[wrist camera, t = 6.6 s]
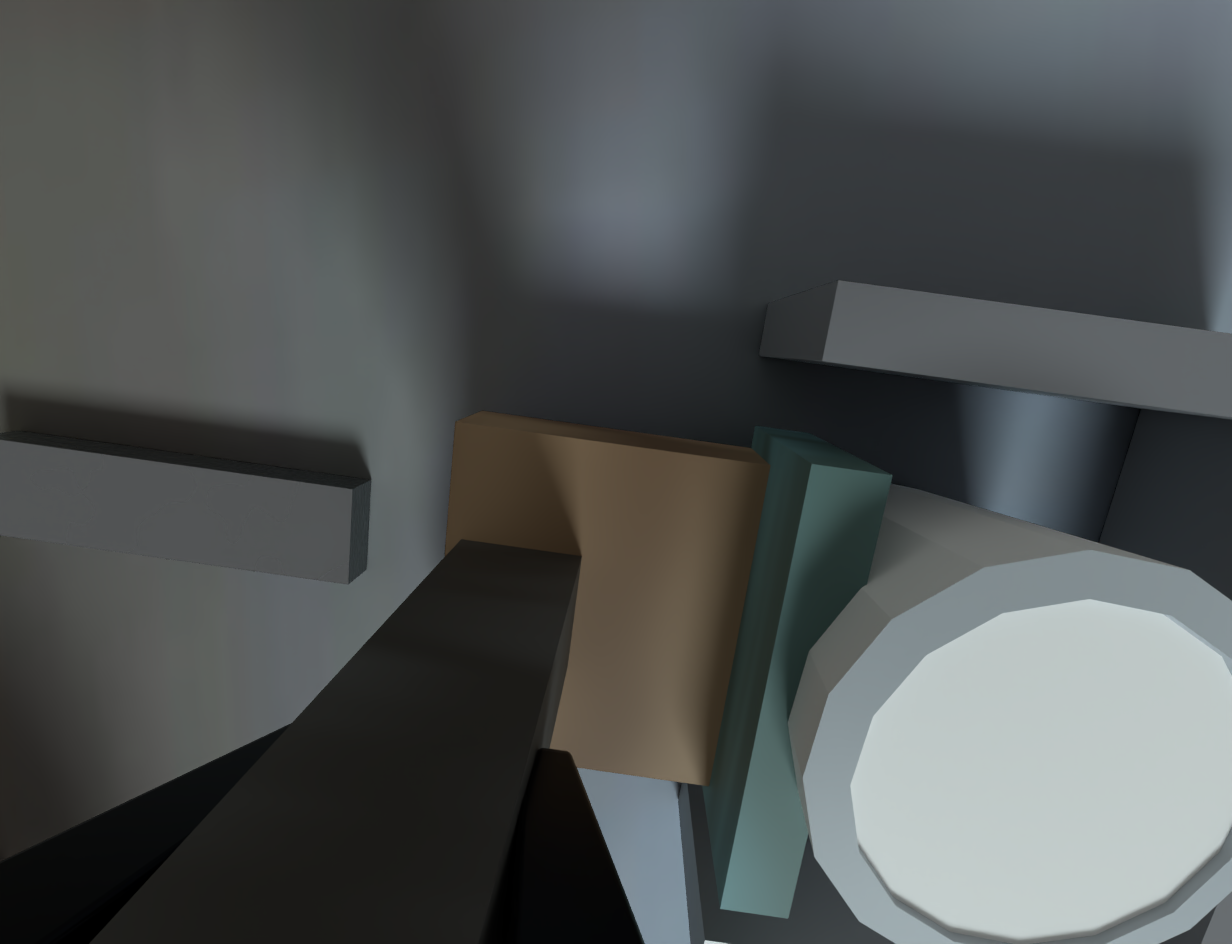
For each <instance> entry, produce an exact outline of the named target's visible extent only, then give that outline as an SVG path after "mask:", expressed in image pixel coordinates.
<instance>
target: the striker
mask: <svg viewBox="0 0 1232 944" xmlns="http://www.w3.org/2000/svg"><path fill="white" fill-rule="evenodd" d="M892 476H893V475H891V474H889V473H887V472H885V471H883V470H881V469H879V468H877V467H876V466H874V465H872V464H870V463H868V462H866V461H864V460H862V459H860V458H858V457H856V456H854V455H852V454H850V453H848V452H846V451H844V450H842V449H840V448H838V447H836V446H834V445H832V444H830V443H828V442H826V441H824V440H822V439H820V438H818V437H816V436H814V435H812V434H810V433H805V432H797V431H790V430H783V429H776V428H769V427H761V426H755V430H754V436H753V441H752V446H751V448H748V447H740V446H733V445H726V444H719V443H712V442H704V441H697V440H690V439H683V438H676V437H668V436H661V435H654V434H647V433H640V432H632V431H625V430H618V429H611V428H604V427H596V426H589V425H582V424H575V423H568V422H560V421H553V420H546V419H539V418H532V417H524V416H517V415H510V414H503V413H496V412H488V411H480V412H478V413H475V414H473V415H470V416H468V417H465V418H463V419H461V420H458V421H456V422H455V432H454V444H453V457H452V469H451V482H450V495H449V507H448V520H447V532H446V545H445V557H444V558H443V559H442V561H441V562H440V563H439V564H438V565H437V566H436V567H435V568H434V569H433V570H432V571H431V572H430V574H429V575H428V576H427V577H426V578H425V579H424V580H423V581H422V582H421V583H420V584H419V586H418V587H417V588H416V589H415V590H414V591H413V592H412V593H411V594H410V595H409V596H408V598H407V599H406V600H405V601H404V602H403V603H402V604H401V605H400V606H399V607H398V608H397V609H396V611H395V612H394V613H393V614H392V615H391V616H390V617H389V618H388V619H387V620H386V621H385V623H384V624H383V625H382V626H381V627H380V628H379V629H378V630H377V631H376V632H375V633H374V634H373V636H372V637H371V638H370V639H369V640H368V641H367V642H366V643H365V644H364V645H363V646H362V648H361V649H360V650H359V651H358V652H357V653H356V654H355V655H354V656H353V657H352V658H351V659H350V661H349V662H348V663H347V664H346V665H345V666H344V667H343V668H342V669H341V670H340V671H339V673H338V674H337V675H336V676H335V677H334V678H333V679H332V680H331V681H330V682H329V683H328V685H327V686H326V687H325V688H324V689H323V690H322V691H321V692H320V693H319V694H318V695H317V696H316V698H315V699H314V700H313V701H312V702H311V703H310V704H309V705H308V706H307V707H306V708H305V710H304V711H303V712H302V713H301V714H300V715H299V716H298V717H297V718H296V719H295V720H294V721H293V723H292V724H291V725H290V726H289V727H288V728H287V729H286V730H285V731H284V732H283V733H282V735H281V736H280V737H279V738H278V739H277V740H276V741H275V742H274V743H273V744H272V745H271V746H270V748H269V749H268V750H267V751H266V752H265V753H264V754H263V755H262V756H261V757H260V758H259V760H258V761H257V762H256V763H255V764H254V765H253V766H252V767H251V768H250V769H249V770H248V772H247V773H246V774H245V775H244V776H243V777H242V778H241V779H240V780H239V781H238V782H237V783H236V785H235V786H234V787H233V788H232V789H231V790H230V791H229V792H228V793H227V794H226V795H225V797H224V798H223V799H222V800H221V801H220V802H219V803H218V804H217V805H216V806H215V807H214V808H213V810H212V811H211V812H210V813H209V814H208V815H207V816H206V817H205V818H204V819H203V820H202V822H201V823H200V824H199V825H198V826H197V827H196V828H195V829H194V830H193V831H192V832H191V834H190V835H189V836H188V837H187V838H186V839H185V840H184V841H183V842H182V843H181V844H180V845H179V847H178V848H177V849H176V850H175V851H174V852H173V853H172V854H171V855H170V856H169V857H168V859H167V860H166V861H165V862H164V863H163V864H162V865H161V866H160V867H159V868H158V869H157V870H156V872H155V873H154V874H153V875H152V876H151V877H150V878H149V879H148V880H147V881H146V882H145V884H144V885H143V886H142V887H141V888H140V889H139V890H138V891H137V892H136V893H135V894H134V895H133V897H132V898H131V899H130V900H129V901H128V902H127V903H126V904H125V905H124V906H123V907H122V909H121V910H120V911H119V912H118V913H117V914H116V915H115V916H114V917H113V918H112V919H111V921H110V922H109V923H108V924H107V925H106V926H105V927H104V928H103V929H102V930H101V931H100V932H99V934H98V935H97V936H96V937H95V938H94V939H93V940H92V941H91V942H90V943H89V944H503V942H504V933H505V925H506V916H507V908H508V899H509V891H510V882H511V874H512V865H513V857H514V848H515V840H516V831H517V823H518V817H519V813H520V809H521V806H522V802H523V799H524V795H525V792H526V788H527V785H528V781H529V778H530V774H531V771H532V768H533V764H534V761H535V757H536V754H537V751H538V750H539V749H540V748H550V749H557V750H564V751H568V752H570V753H571V755H572V757H573V759H574V762H575V765H576V767H578V768H585V769H592V770H599V771H605V772H612V773H619V774H626V775H633V776H640V777H647V778H654V779H661V780H668V781H675V782H682V783H689V784H696V785H702V788H703V795H704V802H705V809H706V815H707V822H708V829H709V836H710V843H711V850H712V857H713V864H714V870H715V877H716V884H717V891H718V898H719V905H720V909H725V910H732V911H738V912H745V913H752V914H759V915H766V916H773V917H780V918H787V919H788V918H789V913H790V909H791V905H792V901H793V896H794V892H795V888H796V884H797V879H798V875H799V871H800V867H801V862H802V858H803V854H804V850H805V845H806V841H807V837H808V830H807V826H806V822H805V818H804V814H803V810H802V806H801V802H800V798H799V794H798V788H797V782H796V775H795V768H794V762H793V755H792V749H791V742H790V735H789V729H788V720H789V716H790V713H791V710H792V706H793V703H794V700H795V696H796V693H797V690H798V686H799V683H800V680H801V676H802V673H803V670H804V666H805V663H806V660H807V656H808V653H809V651H810V649H811V648H812V647H813V646H814V644H815V643H816V642H817V641H818V640H819V638H820V637H821V636H822V635H823V634H824V632H825V631H826V630H827V629H828V628H829V626H830V625H831V624H832V623H833V621H834V620H835V619H836V618H837V617H838V615H839V614H840V613H841V612H842V611H843V609H844V608H845V607H846V606H847V605H848V603H849V602H850V601H851V600H852V598H853V597H854V596H855V595H856V594H857V592H858V591H859V590H860V589H861V588H862V587H864V586H865V585H867V582H868V578H869V574H870V569H871V565H872V561H873V557H874V552H875V548H876V544H877V540H878V536H879V531H880V527H881V523H882V519H883V514H884V510H885V506H886V502H887V497H888V493H889V489H890V485H891V480H892Z"/></svg>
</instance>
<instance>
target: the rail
mask: <svg viewBox="0 0 1232 944" xmlns="http://www.w3.org/2000/svg"><path fill="white" fill-rule="evenodd" d="M370 489H371V480H367V479H360V478H353V477H346V476H339V475H332V474H325V473H317V472H310V471H303V470H296V469H289V468H282V467H275V466H268V465H260V464H253V463H246V462H239V461H232V460H225V459H218V458H210V457H203V456H196V455H189V454H182V453H175V452H168V451H160V450H153V449H146V448H139V447H132V446H125V445H118V444H110V443H103V442H96V441H89V440H82V439H75V438H68V437H61V436H53V435H46V434H39V433H32V432H25V431H11V432H4V433H0V535H1V536H9V537H16V538H23V539H30V540H37V541H44V542H51V543H58V544H65V545H72V546H79V547H86V548H93V549H100V550H107V551H115V552H122V553H129V554H136V555H143V556H150V557H157V558H164V559H171V560H178V561H185V562H192V563H199V564H206V565H213V566H221V567H228V568H235V569H242V570H249V571H256V572H263V573H270V574H277V575H284V576H291V577H298V578H305V579H312V580H319V581H326V582H334V583H341V584H349V583H351V582H352V581H353V580H354V579H356V578H357V577H358V576H359V575H360V574H362V573H363V572H364V571H365V570H366V566H367V547H368V527H369V508H370Z"/></svg>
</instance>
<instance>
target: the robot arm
mask: <svg viewBox="0 0 1232 944" xmlns="http://www.w3.org/2000/svg"><path fill="white" fill-rule="evenodd" d="M291 724H292V723H291ZM291 724H289V725H287V726H285V727H282V728H280V729H278V730H276V731H274V732H272V733H270V734H268V735H266V736H264V737H261V738H259V739H257V740H255V741H253V742H251V743H249V744H247V745H245V746H243V747H240V748H238V749H236V750H234V751H232V752H230V753H228V754H226V755H224V756H222V757H219V758H217V759H215V760H213V761H211V762H209V763H207V764H205V765H203V766H201V767H198V768H196V769H194V770H192V771H190V772H188V773H186V774H184V775H182V776H180V777H177V778H175V779H173V780H171V781H169V782H167V783H165V784H163V785H161V786H159V787H156V788H154V789H152V790H150V791H148V792H146V793H144V794H142V795H140V796H138V797H135V798H133V799H131V800H129V801H127V802H125V803H123V804H121V805H119V806H117V807H114V808H112V809H110V810H108V811H106V812H104V813H102V814H100V815H98V816H95V817H93V818H91V819H89V820H87V821H85V822H83V823H81V824H79V825H77V826H74V827H72V828H70V829H68V830H66V831H64V832H62V833H60V834H58V835H55V836H53V837H51V838H49V839H47V840H45V841H43V842H41V843H39V844H37V845H34V846H32V847H30V848H28V849H26V850H24V851H22V852H20V853H18V854H16V855H13V856H11V857H9V858H7V859H5V860H3V861H1V862H0V944H89V943H90V942H91V941H92V940H93V939H94V938H95V937H96V936H97V935H98V934H99V932H100V931H101V930H102V929H103V928H104V927H105V926H106V925H107V924H108V923H109V922H110V921H111V919H112V918H113V917H114V916H115V915H116V914H117V913H118V912H119V911H120V910H121V909H122V907H123V906H124V905H125V904H126V903H127V902H128V901H129V900H130V899H131V898H132V897H133V895H134V894H135V893H136V892H137V891H138V890H139V889H140V888H141V887H142V886H143V885H144V884H145V882H146V881H147V880H148V879H149V878H150V877H151V876H152V875H153V874H154V873H155V872H156V870H157V869H158V868H159V867H160V866H161V865H162V864H163V863H164V862H165V861H166V860H167V859H168V857H169V856H170V855H171V854H172V853H173V852H174V851H175V850H176V849H177V848H178V847H179V845H180V844H181V843H182V842H183V841H184V840H185V839H186V838H187V837H188V836H189V835H190V834H191V832H192V831H193V830H194V829H195V828H196V827H197V826H198V825H199V824H200V823H201V822H202V820H203V819H204V818H205V817H206V816H207V815H208V814H209V813H210V812H211V811H212V810H213V808H214V807H215V806H216V805H217V804H218V803H219V802H220V801H221V800H222V799H223V798H224V797H225V795H226V794H227V793H228V792H229V791H230V790H231V789H232V788H233V787H234V786H235V785H236V783H237V782H238V781H239V780H240V779H241V778H242V777H243V776H244V775H245V774H246V773H247V772H248V770H249V769H250V768H251V767H252V766H253V765H254V764H255V763H256V762H257V761H258V760H259V758H260V757H261V756H262V755H263V754H264V753H265V752H266V751H267V750H268V749H269V748H270V746H271V745H272V744H273V743H274V742H275V741H276V740H277V739H278V738H279V737H280V736H281V735H282V733H283V732H284V731H285V730H286V729H287V728H288V727H289V726H290V725H291ZM503 944H645V943H644V940H643V938H642V935H641V933H640V930H639V928H638V925H637V922H636V920H635V917H634V915H633V912H632V909H631V907H630V904H629V902H628V899H627V896H626V894H625V891H624V889H623V886H622V884H621V881H620V878H619V876H618V873H617V871H616V868H615V865H614V863H613V860H612V858H611V855H610V853H609V850H608V847H607V845H606V842H605V840H604V837H603V834H602V832H601V829H600V827H599V824H598V821H597V819H596V816H595V814H594V811H593V809H592V806H591V803H590V801H589V798H588V796H587V793H586V790H585V788H584V785H583V783H582V780H581V777H580V775H579V772H578V770H577V767H576V765H575V762H574V759H573V757H572V755H571V753H570V752H568V751H564V750H557V749H550V748H540V749H539V750H538V751H537V754H536V757H535V761H534V764H533V768H532V771H531V774H530V778H529V781H528V785H527V788H526V792H525V795H524V799H523V802H522V806H521V809H520V813H519V817H518V823H517V831H516V840H515V848H514V857H513V865H512V874H511V882H510V891H509V899H508V908H507V916H506V925H505V933H504V942H503Z"/></svg>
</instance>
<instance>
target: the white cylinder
mask: <svg viewBox="0 0 1232 944" xmlns="http://www.w3.org/2000/svg"><path fill="white" fill-rule="evenodd" d="M788 729H789V735H790V742H791V749H792V755H793V762H794V768H795V775H796V782H797V788H798V794H799V798H800V802H801V806H802V810H803V814H804V818H805V822H806V826H807V830H808V834H809V838H810V842H811V846H812V850H813V854H814V857H815V859H816V860H817V862H818V863H819V864H820V866H821V867H822V869H823V870H824V872H825V873H826V875H827V876H828V877H829V879H830V880H831V882H832V883H833V885H834V886H835V888H836V889H837V890H838V892H839V893H840V895H841V896H842V898H843V899H844V900H845V902H846V903H847V905H848V906H849V908H850V909H851V911H852V912H853V913H854V915H855V916H856V918H857V919H858V921H859V922H861V923H862V924H864V925H866V926H867V927H869V928H871V929H872V930H874V931H876V932H877V933H879V934H881V935H882V936H884V937H885V938H887V939H889V940H890V941H892V942H894V943H895V944H1159V943H1162V942H1164V941H1166V940H1168V939H1170V938H1173V937H1175V936H1177V935H1179V934H1181V933H1184V932H1186V931H1188V930H1190V929H1191V928H1192V927H1193V926H1194V925H1196V924H1197V923H1198V922H1199V921H1200V920H1201V919H1202V918H1203V917H1204V916H1205V915H1207V914H1208V913H1209V912H1210V911H1211V910H1212V909H1213V908H1214V907H1215V906H1216V905H1217V904H1219V903H1220V902H1221V901H1222V900H1223V899H1224V898H1225V897H1226V896H1227V895H1228V894H1229V893H1231V892H1232V601H1231V600H1230V599H1229V598H1227V597H1226V596H1224V595H1223V594H1222V593H1220V592H1219V591H1218V590H1216V589H1215V588H1214V587H1212V586H1211V585H1209V584H1208V583H1207V582H1205V581H1204V580H1203V579H1201V578H1200V577H1198V576H1197V575H1196V574H1194V573H1193V572H1192V571H1190V570H1187V569H1184V568H1181V567H1177V566H1174V565H1171V564H1167V563H1164V562H1161V561H1157V560H1154V559H1151V558H1147V557H1144V556H1140V555H1137V554H1134V553H1130V552H1127V551H1124V550H1120V549H1117V548H1114V547H1110V546H1107V545H1104V544H1100V543H1097V542H1094V541H1090V540H1087V539H1083V538H1080V537H1077V536H1073V535H1070V534H1067V533H1063V532H1060V531H1057V530H1053V529H1050V528H1047V527H1043V526H1040V525H1037V524H1033V523H1030V522H1026V521H1023V520H1020V519H1016V518H1013V517H1010V516H1006V515H1003V514H1000V513H996V512H993V511H990V510H986V509H983V508H979V507H976V506H973V505H969V504H966V503H963V502H959V501H956V500H953V499H949V498H946V497H943V496H939V495H936V494H933V493H929V492H926V491H922V490H919V489H915V488H910V487H905V486H901V485H896V484H891V485H890V489H889V493H888V497H887V502H886V506H885V510H884V514H883V519H882V523H881V527H880V531H879V536H878V540H877V544H876V548H875V552H874V557H873V561H872V565H871V569H870V574H869V578H868V582H867V585H865V586H864V587H862V588H861V589H860V590H859V591H858V592H857V594H856V595H855V596H854V597H853V598H852V600H851V601H850V602H849V603H848V605H847V606H846V607H845V608H844V609H843V611H842V612H841V613H840V614H839V615H838V617H837V618H836V619H835V620H834V621H833V623H832V624H831V625H830V626H829V628H828V629H827V630H826V631H825V632H824V634H823V635H822V636H821V637H820V638H819V640H818V641H817V642H816V643H815V644H814V646H813V647H812V648H811V649H810V651H809V653H808V656H807V660H806V663H805V666H804V670H803V673H802V676H801V680H800V683H799V686H798V690H797V693H796V696H795V700H794V703H793V706H792V710H791V713H790V716H789V720H788Z"/></svg>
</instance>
